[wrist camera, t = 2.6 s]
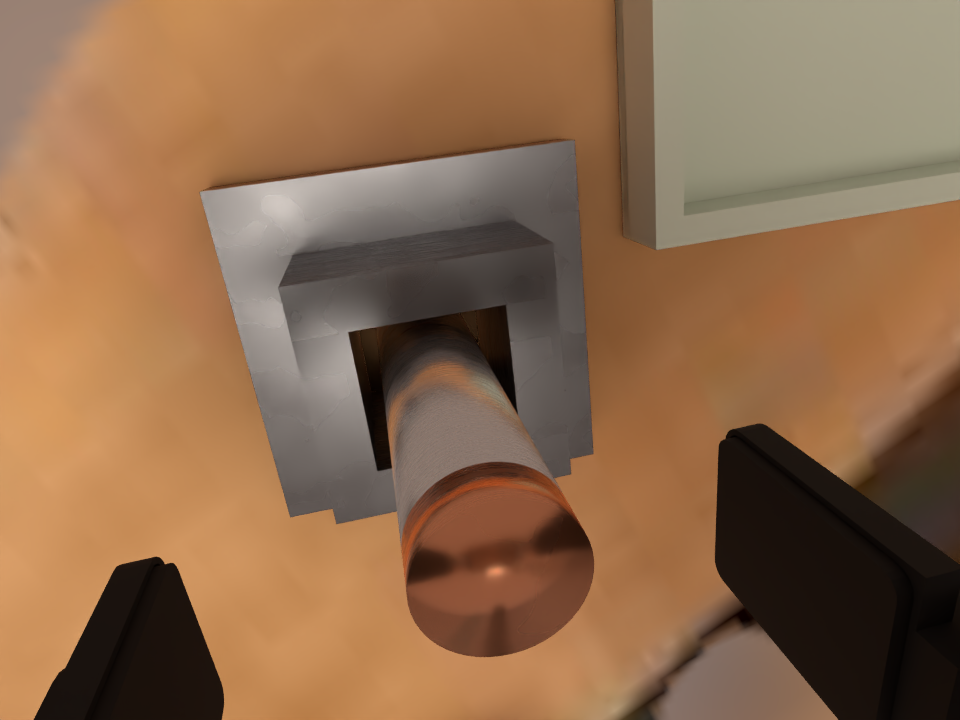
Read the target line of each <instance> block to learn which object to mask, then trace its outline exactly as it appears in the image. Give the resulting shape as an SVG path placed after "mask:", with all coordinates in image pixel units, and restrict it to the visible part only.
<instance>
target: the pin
mask: <svg viewBox="0 0 960 720" xmlns="http://www.w3.org/2000/svg"><path fill="white" fill-rule="evenodd" d="M376 334H377V343H378V351H379V360H380V368H381V377H382V386H383V394H384V403H385V411H386V420H387V429H388V437H389V446H390V454H391V463H392V472H393V480H394V489H395V497H396V506H397V515H398V523H399V532H400V540H401V549H402V558H403V566H404V575H405V583H406V592H407V600H408V606H409V609H410V613H411V615H412V617H413V619H414V621H415V623H416V624H417V626H418V627H419V629H420V630H421V631H422V632H423V633H424V634H425V635H426V636H427V637H428V638H429V639H430V640H432V641H433V642H434V643H436V644H437V645H439V646H441V647H443V648H445V649H447V650H450V651H452V652H455V653H459V654H463V655H467V656H475V657H494V656H503V655H508V654H513V653H516V652H519V651H523V650H525V649H528V648H530V647H533V646H535V645H537V644H539V643H541V642H543V641H544V640H546V639H548V638H549V637H551V636H552V635H554V634H555V633H556V632H558V631H559V630H560V629H561V628H562V627H564V626H565V625H566V624H567V623H568V622H569V621H570V620H571V619H572V618H573V616H574V615H575V614H576V613H577V611H578V610H579V609H580V607H581V605H582V604H583V602H584V600H585V598H586V596H587V594H588V592H589V589H590V586H591V583H592V579H593V573H594V557H593V551H592V547H591V544H590V541H589V539H588V537H587V535H586V533H585V532H584V530H583V528H582V526H581V525H580V523H579V521H578V519H577V518H576V516H575V514H574V512H573V511H572V509H571V507H570V505H569V504H568V502H567V500H566V498H565V497H564V495H563V493H562V491H561V490H560V488H559V486H558V484H557V483H556V481H555V479H554V477H553V476H552V474H551V472H550V470H549V469H548V467H547V465H546V463H545V462H544V460H543V458H542V456H541V455H540V453H539V451H538V449H537V448H536V446H535V444H534V442H533V441H532V439H531V437H530V435H529V434H528V432H527V430H526V428H525V427H524V425H523V423H522V421H521V420H520V418H519V416H518V414H517V413H516V411H515V409H514V407H513V406H512V404H511V402H510V400H509V399H508V397H507V395H506V393H505V392H504V390H503V388H502V386H501V385H500V383H499V381H498V379H497V378H496V376H495V374H494V372H493V371H492V369H491V367H490V365H489V364H488V362H487V360H486V358H485V357H484V355H483V353H482V351H481V350H480V348H479V346H478V344H477V343H476V341H475V339H474V337H473V336H472V334H471V332H470V330H469V329H468V327H467V325H466V323H465V322H464V320H463V318H462V316H461V315H460V313H455V314H449V315H443V316H437V317H432V318H426V319H420V320H414V321H409V322H403V323H397V324H391V325H385V326H380V327H376Z"/></svg>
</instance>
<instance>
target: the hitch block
mask: <svg viewBox="0 0 960 720" xmlns="http://www.w3.org/2000/svg"><path fill="white" fill-rule="evenodd" d="M200 196H201V199H202V203H203V206H204V210H205V214H206V217H207V221H208V224H209V228H210V231H211V235H212V239H213V242H214V246H215V249H216V253H217V257H218V260H219V264H220V267H221V271H222V274H223V278H224V282H225V285H226V289H227V292H228V296H229V299H230V303H231V307H232V310H233V314H234V317H235V321H236V325H237V328H238V332H239V335H240V339H241V342H242V346H243V350H244V353H245V357H246V360H247V364H248V367H249V371H250V375H251V378H252V382H253V385H254V389H255V392H256V396H257V400H258V403H259V407H260V410H261V414H262V418H263V421H264V425H265V428H266V432H267V435H268V439H269V443H270V446H271V450H272V453H273V457H274V460H275V464H276V468H277V471H278V475H279V478H280V482H281V486H282V489H283V493H284V496H285V500H286V503H287V507H288V511H289V514H290V517H294V516H299V515H304V514H309V513H313V512H318V511H323V510H328V509H333V511H334V516H335V520H336V524H339V523H344V522H349V521H353V520H358V519H363V518H368V517H372V516H377V515H382V514H386V513H391V512H396V511H397V506H396V497H395V489H394V480H393V472H392V463H391V454H390V446H389V437H388V429H387V420H386V411H385V403H384V394H383V390H379V391H374V392H371V387H370V382H369V377H368V372H367V367H366V363H365V358H364V353H363V348H362V343H361V338H360V333H359V330H362V329H368V328H374V327H380V326H385V325H391V324H397V323H403V322H409V321H414V320H420V319H426V318H432V317H437V316H443V315H449V314H455V313H461V312H466V311H472V310H475V312H476V320H477V328H478V335H479V343H480V350H481V351H482V353H483V355H484V357H485V358H486V360H487V362H488V364H489V365H490V367H491V369H492V371H493V372H494V374H495V376H496V378H497V379H498V381H499V383H500V385H501V386H502V388H503V390H504V392H505V393H506V395H507V397H508V399H509V400H510V402H511V404H512V406H513V407H514V409H515V411H516V413H517V414H518V416H519V418H520V420H521V421H522V423H523V425H524V427H525V428H526V430H527V432H528V434H529V435H530V437H531V439H532V441H533V442H534V444H535V446H536V448H537V449H538V451H539V453H540V455H541V456H542V458H543V460H544V462H545V463H546V465H547V467H548V469H549V470H550V472H551V474H552V476H553V477H554V478H556V477H560V476H565V475H570V474H571V466H570V459H572V458H576V457H581V456H586V455H591V454H593V438H592V422H591V405H590V388H589V371H588V354H587V338H586V321H585V304H584V287H583V271H582V254H581V237H580V220H579V204H578V187H577V170H576V153H575V140H568V139H557V140H550V141H543V142H536V143H528V144H521V145H514V146H507V147H499V148H492V149H485V150H478V151H470V152H463V153H456V154H449V155H441V156H434V157H427V158H420V159H412V160H405V161H398V162H391V163H383V164H376V165H369V166H362V167H354V168H347V169H340V170H333V171H326V172H318V173H311V174H304V175H297V176H289V177H282V178H275V179H268V180H260V181H253V182H246V183H239V184H231V185H224V186H217V187H210V188H207V189H205V190H203V191H201V192H200Z"/></svg>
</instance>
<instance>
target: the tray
mask: <svg viewBox="0 0 960 720" xmlns="http://www.w3.org/2000/svg"><path fill="white" fill-rule="evenodd" d="M615 8H616V37H617V66H618V95H619V125H620V154H621V183H622V213H623V237H626V238H628V239H630V240H633V241H635V242H638V243H640V244H643V245H645V246H648V247H650V248H652V249H655V250H660V249H666V248H672V247H678V246H684V245H690V244H696V243H702V242H708V241H714V240H720V239H726V238H732V237H738V236H744V235H750V234H756V233H762V232H768V231H774V230H780V229H786V228H792V227H798V226H804V225H810V224H816V223H822V222H828V221H834V220H841V219H847V218H853V217H859V216H865V215H871V214H877V213H883V212H889V211H895V210H901V209H907V208H913V207H919V206H925V205H931V204H937V203H943V202H949V201H955V200H960V0H615Z"/></svg>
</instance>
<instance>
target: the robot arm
mask: <svg viewBox="0 0 960 720" xmlns="http://www.w3.org/2000/svg"><path fill="white" fill-rule="evenodd" d="M715 563H716V567H717V570H718V573H719V575H720V577H721V578H722V580H723V581H724V582H725V584H726V585H727V586H728V587H729V588H730V590H731V591H732V592H733V593H734V594H735V596H736V597H737V598H738V599H739V600H740V602H741V603H742V604H743V605H744V606H745V608H746V609H747V610H748V611H749V612H750V614H751V615H752V616H753V617H754V618H755V620H756V621H757V622H758V623H759V625H760V626H761V627H762V628H763V629H764V631H765V632H766V633H767V634H768V635H769V637H770V638H771V639H772V640H773V641H774V643H775V644H776V645H777V646H778V647H779V649H780V650H781V651H782V652H783V653H784V655H785V656H786V657H787V658H788V659H789V661H790V662H791V663H792V664H793V665H794V667H795V668H796V669H797V670H798V671H799V673H800V674H801V675H802V676H803V677H804V679H805V680H806V681H807V682H808V684H809V685H810V686H811V687H812V688H813V690H814V691H815V692H816V693H817V694H818V696H819V697H820V698H821V699H822V700H823V702H824V703H825V704H826V705H827V706H828V708H829V709H830V710H831V711H832V712H833V714H834V715H835V716H836V717H837V718H838V720H960V564H958V563H957V562H955V561H954V560H953V559H951V558H950V557H948V556H947V555H946V554H944V553H943V552H942V551H940V550H939V549H937V548H936V547H935V546H933V545H932V544H930V543H929V542H928V541H926V540H925V539H923V538H922V537H921V536H919V535H918V534H916V533H915V532H914V531H912V530H911V529H910V528H908V527H907V526H905V525H904V524H903V523H901V522H900V521H898V520H897V519H896V518H894V517H893V516H891V515H890V514H889V513H887V512H886V511H884V510H883V509H882V508H880V507H879V506H878V505H876V504H875V503H873V502H872V501H871V500H869V499H868V498H866V497H865V496H864V495H862V494H861V493H859V492H858V491H857V490H855V489H854V488H853V487H851V486H850V485H848V484H847V483H846V482H844V481H843V480H841V479H840V478H839V477H837V476H836V475H834V474H833V473H832V472H830V471H829V470H827V469H826V468H825V467H823V466H822V465H821V464H819V463H818V462H816V461H815V460H814V459H812V458H811V457H809V456H808V455H807V454H805V453H804V452H802V451H801V450H800V449H798V448H797V447H796V446H794V445H793V444H791V443H790V442H789V441H787V440H786V439H784V438H783V437H782V436H780V435H779V434H777V433H776V432H775V431H773V430H772V429H770V428H769V427H768V426H766V425H764V424H755V425H750V426H746V427H741V428H737V429H732V430H730V431H729V432H728V433H727V435H726V439H725V440H722V441H721V442H720V444H719V454H718V483H717V513H716V542H715ZM223 708H224V693H223V687H222V684H221V681H220V678H219V676H218V673H217V670H216V668H215V665H214V662H213V660H212V657H211V655H210V652H209V649H208V647H207V644H206V642H205V639H204V636H203V634H202V631H201V628H200V626H199V623H198V621H197V618H196V615H195V613H194V610H193V607H192V605H191V602H190V600H189V597H188V594H187V592H186V589H185V586H184V584H183V581H182V579H181V576H180V573H179V571H178V569H177V567H176V565H175V564H174V563H169V564H164V562H163V560H162V559H161V558H159V557H153V558H148V559H144V560H139V561H135V562H130V563H126V564H121V565H119V566H117V567H116V568H115V570H114V571H113V573H112V575H111V577H110V579H109V581H108V583H107V585H106V587H105V589H104V591H103V593H102V595H101V597H100V599H99V601H98V603H97V605H96V607H95V609H94V612H93V614H92V616H91V618H90V620H89V622H88V624H87V626H86V628H85V630H84V632H83V634H82V636H81V638H80V640H79V642H78V644H77V646H76V648H75V650H74V652H73V654H72V656H71V658H70V660H69V662H68V664H67V666H66V668H65V669H63V670H62V671H61V672H59V674H58V675H57V677H56V678H55V680H54V681H53V683H52V685H51V687H50V689H49V691H48V693H47V695H46V697H45V698H44V700H43V702H42V704H41V706H40V708H39V710H38V712H37V714H36V716H35V718H34V720H222V714H223Z"/></svg>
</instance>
